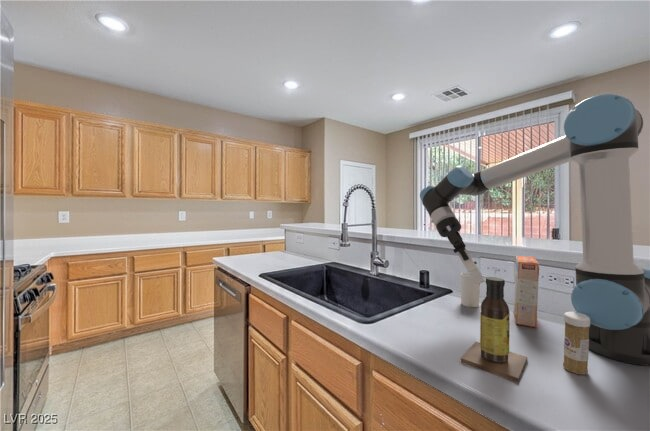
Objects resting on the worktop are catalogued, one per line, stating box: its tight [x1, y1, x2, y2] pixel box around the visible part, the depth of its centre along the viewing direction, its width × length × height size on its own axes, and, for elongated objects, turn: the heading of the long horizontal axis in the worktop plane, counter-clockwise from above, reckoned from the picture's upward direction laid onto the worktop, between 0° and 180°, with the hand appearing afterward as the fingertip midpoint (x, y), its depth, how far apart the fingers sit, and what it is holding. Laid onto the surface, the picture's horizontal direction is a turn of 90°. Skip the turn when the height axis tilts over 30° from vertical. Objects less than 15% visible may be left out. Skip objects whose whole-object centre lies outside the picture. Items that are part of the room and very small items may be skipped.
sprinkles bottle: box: [562, 311, 590, 375], centre depth 67 cm, size 5×5×14 cm
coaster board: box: [460, 341, 528, 383], centre depth 71 cm, size 12×12×1 cm
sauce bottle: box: [479, 276, 511, 362], centre depth 71 cm, size 6×6×20 cm
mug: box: [460, 271, 481, 308], centre depth 112 cm, size 10×7×12 cm, turn 129°
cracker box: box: [513, 255, 540, 328], centre depth 97 cm, size 14×6×21 cm, turn 148°
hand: (477, 277), depth 87 cm, fingers open, 13 cm apart
